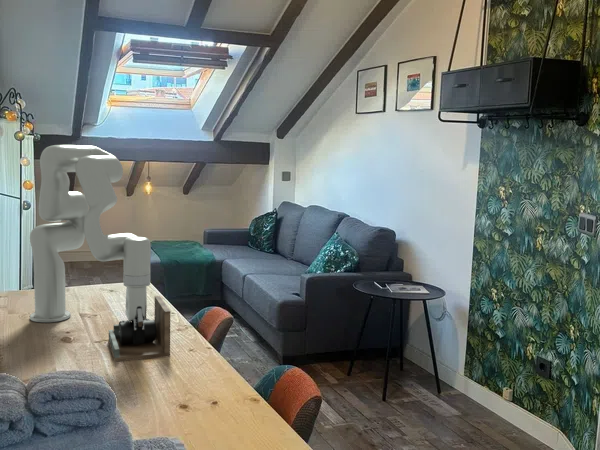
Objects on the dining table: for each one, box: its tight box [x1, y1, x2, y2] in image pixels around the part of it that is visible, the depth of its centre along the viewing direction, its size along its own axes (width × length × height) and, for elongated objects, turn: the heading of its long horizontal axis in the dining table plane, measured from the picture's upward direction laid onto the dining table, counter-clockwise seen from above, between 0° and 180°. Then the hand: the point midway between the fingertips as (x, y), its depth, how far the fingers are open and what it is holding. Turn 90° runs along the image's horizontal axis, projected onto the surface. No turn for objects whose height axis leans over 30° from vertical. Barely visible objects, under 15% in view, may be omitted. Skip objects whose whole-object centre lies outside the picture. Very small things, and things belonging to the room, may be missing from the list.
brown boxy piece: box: [108, 295, 171, 362], centre depth 177 cm, size 18×15×13 cm
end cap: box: [118, 318, 157, 346], centre depth 179 cm, size 10×7×7 cm
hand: (136, 338), depth 179 cm, fingers closed on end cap, 7 cm apart
